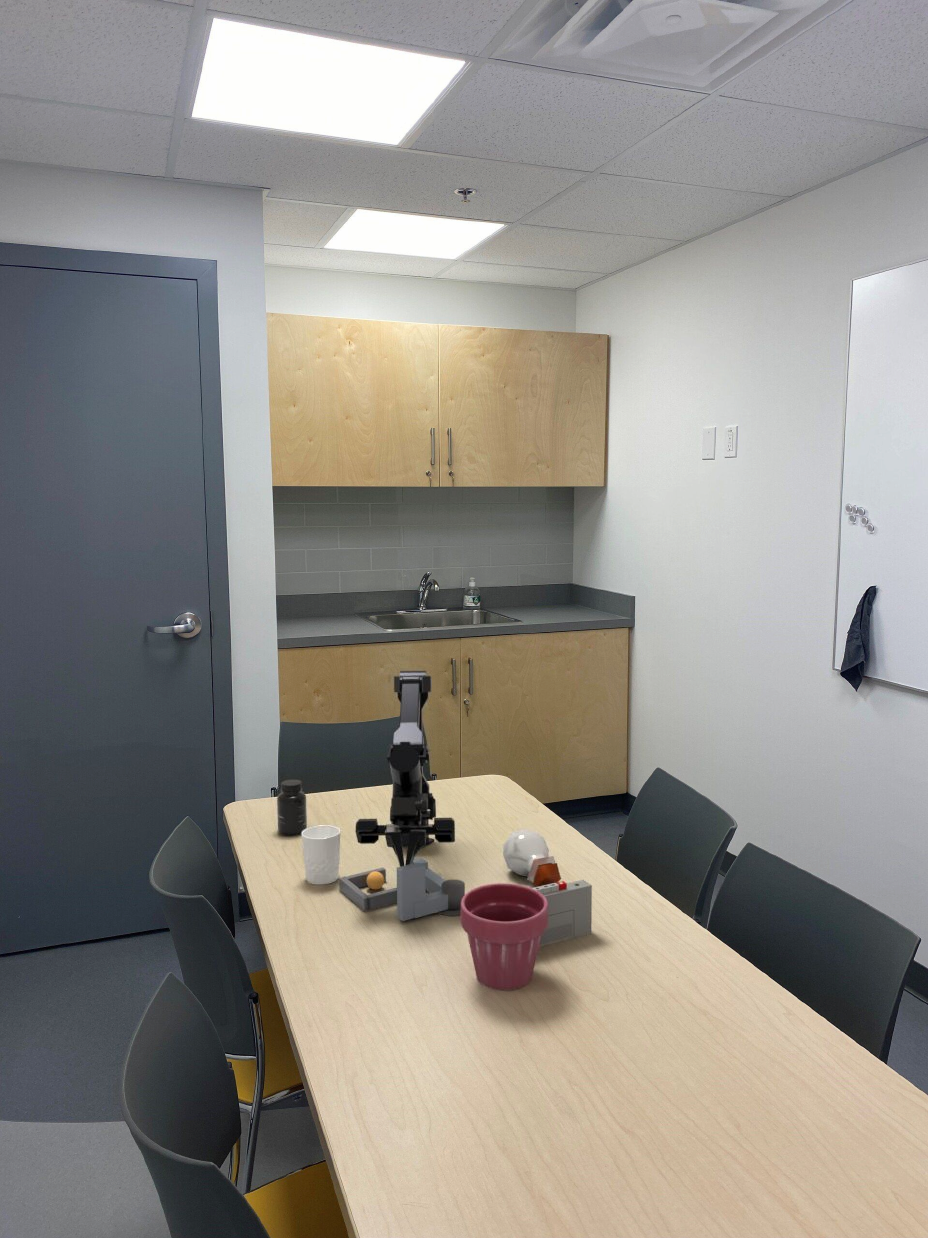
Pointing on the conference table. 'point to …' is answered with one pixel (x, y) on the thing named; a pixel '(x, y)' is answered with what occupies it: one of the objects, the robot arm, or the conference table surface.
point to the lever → (413, 891)
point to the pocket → (365, 902)
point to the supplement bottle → (291, 808)
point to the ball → (375, 880)
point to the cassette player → (567, 910)
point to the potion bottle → (530, 857)
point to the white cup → (321, 854)
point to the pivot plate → (451, 912)
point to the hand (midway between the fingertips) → (404, 873)
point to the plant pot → (504, 932)
